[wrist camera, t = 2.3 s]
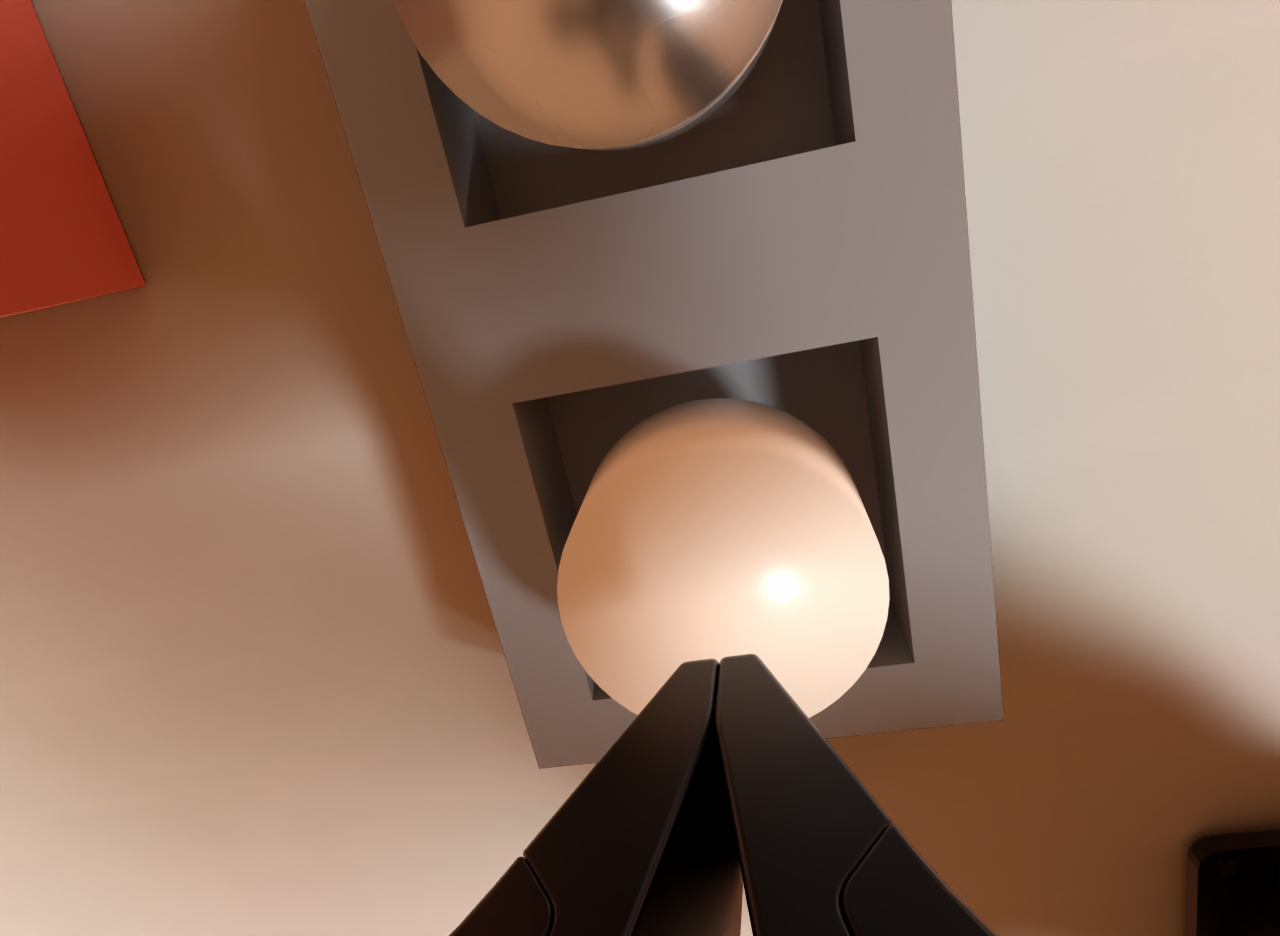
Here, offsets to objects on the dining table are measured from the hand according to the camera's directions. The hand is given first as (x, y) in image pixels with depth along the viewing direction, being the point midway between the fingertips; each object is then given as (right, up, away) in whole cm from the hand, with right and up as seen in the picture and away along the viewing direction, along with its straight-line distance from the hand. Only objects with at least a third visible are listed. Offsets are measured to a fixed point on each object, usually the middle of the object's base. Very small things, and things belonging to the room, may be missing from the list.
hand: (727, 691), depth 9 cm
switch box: (0, +6, +5) cm, 8 cm away
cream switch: (0, +2, +4) cm, 4 cm away
